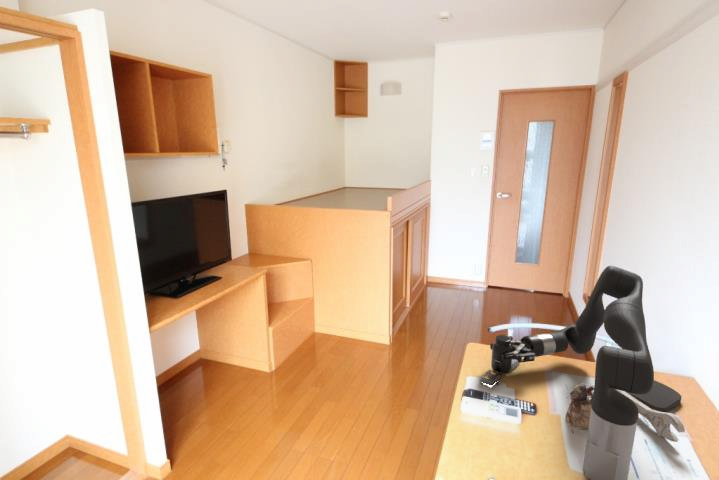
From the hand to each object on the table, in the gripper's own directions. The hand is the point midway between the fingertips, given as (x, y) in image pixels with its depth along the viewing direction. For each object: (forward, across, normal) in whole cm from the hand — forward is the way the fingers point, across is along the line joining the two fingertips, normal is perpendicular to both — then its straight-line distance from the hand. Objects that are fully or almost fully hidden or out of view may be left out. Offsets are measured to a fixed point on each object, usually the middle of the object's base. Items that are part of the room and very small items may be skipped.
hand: (496, 351), depth 137 cm
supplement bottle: (-2, 0, +7) cm, 8 cm away
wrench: (-28, +29, +10) cm, 42 cm away
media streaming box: (-40, +23, +10) cm, 47 cm away
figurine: (-10, +28, +9) cm, 31 cm away
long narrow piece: (-2, 0, +9) cm, 9 cm away
